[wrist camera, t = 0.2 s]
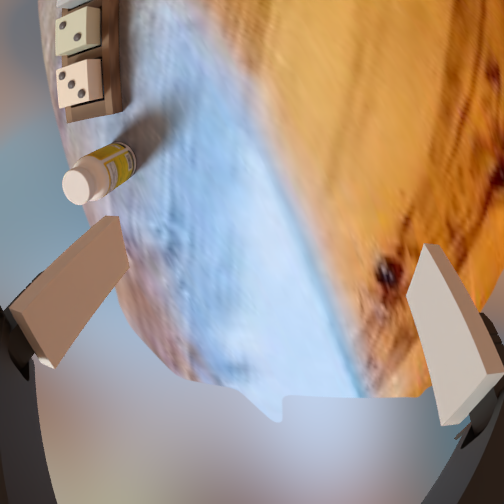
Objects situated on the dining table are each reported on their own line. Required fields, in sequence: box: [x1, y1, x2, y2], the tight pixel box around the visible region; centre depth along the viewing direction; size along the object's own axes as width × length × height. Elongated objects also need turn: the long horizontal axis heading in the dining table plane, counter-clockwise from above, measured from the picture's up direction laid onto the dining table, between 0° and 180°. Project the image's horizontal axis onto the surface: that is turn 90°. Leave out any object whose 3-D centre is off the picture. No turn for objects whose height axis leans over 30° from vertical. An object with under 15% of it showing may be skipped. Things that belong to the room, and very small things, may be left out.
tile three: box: [56, 59, 103, 108], centre depth 31 cm, size 6×6×3 cm
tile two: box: [55, 6, 101, 56], centre depth 27 cm, size 6×6×3 cm
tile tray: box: [62, 0, 123, 123], centre depth 29 cm, size 27×9×2 cm, turn 1°
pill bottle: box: [62, 142, 136, 205], centre depth 36 cm, size 6×6×11 cm
